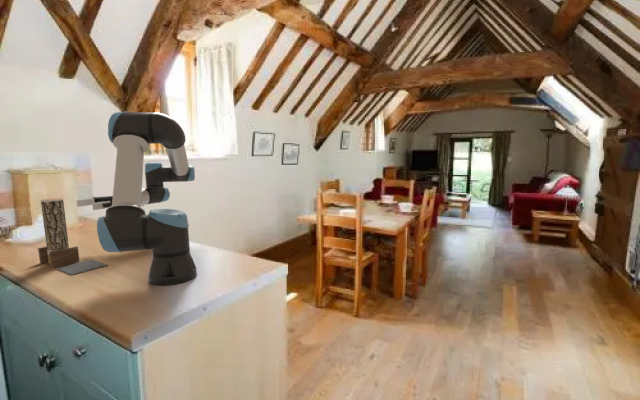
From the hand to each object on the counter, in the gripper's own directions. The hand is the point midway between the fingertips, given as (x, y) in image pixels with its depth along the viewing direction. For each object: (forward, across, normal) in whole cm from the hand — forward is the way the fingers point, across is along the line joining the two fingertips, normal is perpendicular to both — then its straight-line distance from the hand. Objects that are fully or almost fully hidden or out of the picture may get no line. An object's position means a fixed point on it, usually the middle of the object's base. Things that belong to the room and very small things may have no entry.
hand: (84, 205), depth 143 cm
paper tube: (+11, -1, -21) cm, 24 cm away
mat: (+9, -15, -21) cm, 27 cm away
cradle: (+11, -1, -21) cm, 24 cm away
